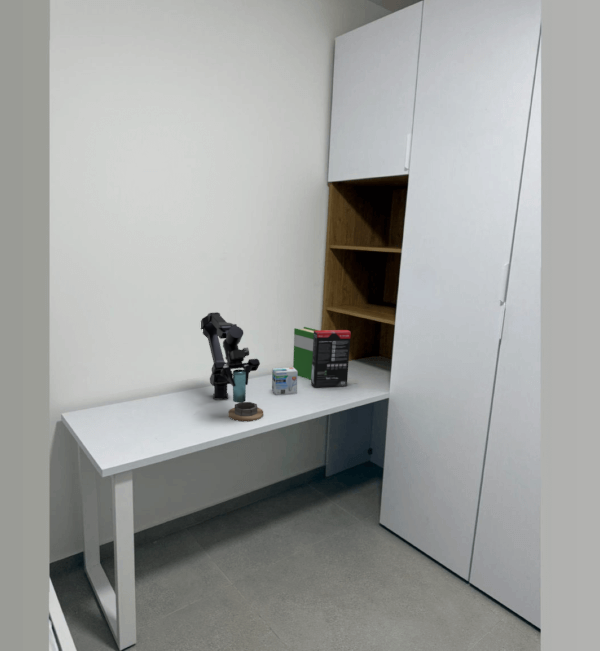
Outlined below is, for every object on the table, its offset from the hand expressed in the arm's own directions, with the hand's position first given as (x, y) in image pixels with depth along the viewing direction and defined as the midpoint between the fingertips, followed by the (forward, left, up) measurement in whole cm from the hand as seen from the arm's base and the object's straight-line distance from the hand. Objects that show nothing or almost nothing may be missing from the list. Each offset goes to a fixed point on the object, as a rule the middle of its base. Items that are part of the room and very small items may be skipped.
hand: (240, 385), depth 196 cm
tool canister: (-1, 0, -7) cm, 7 cm away
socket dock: (-3, +2, -13) cm, 14 cm away
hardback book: (-53, +37, -14) cm, 66 cm away
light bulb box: (-30, +21, -14) cm, 39 cm away
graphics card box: (-38, +44, -14) cm, 60 cm away
